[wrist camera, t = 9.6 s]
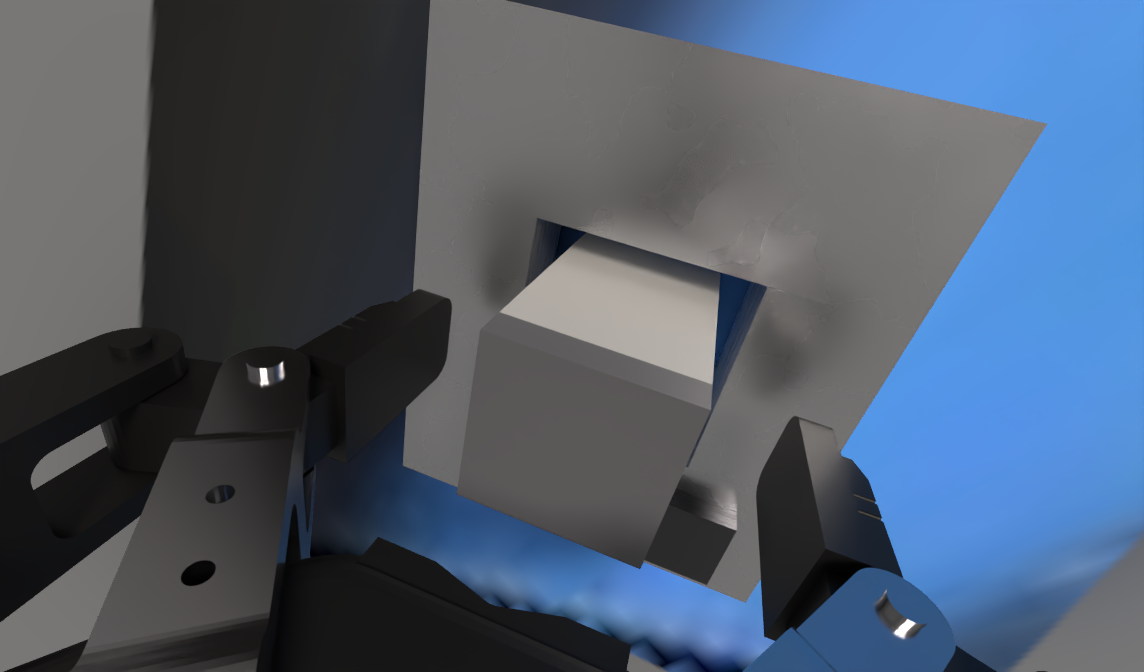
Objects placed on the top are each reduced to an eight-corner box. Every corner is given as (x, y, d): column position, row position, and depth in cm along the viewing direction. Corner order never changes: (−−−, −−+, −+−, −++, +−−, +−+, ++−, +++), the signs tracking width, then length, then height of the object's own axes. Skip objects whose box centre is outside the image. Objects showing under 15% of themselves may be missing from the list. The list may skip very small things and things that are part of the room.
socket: (483, 3, 13) (412, -24, 10) (984, 118, 11) (1070, 125, 8) (440, 424, 19) (390, 479, 17) (743, 539, 17) (745, 623, 15)
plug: (586, 232, 14) (480, 329, 8) (720, 273, 14) (711, 410, 8) (559, 347, 16) (456, 494, 10) (676, 388, 16) (640, 568, 10)
